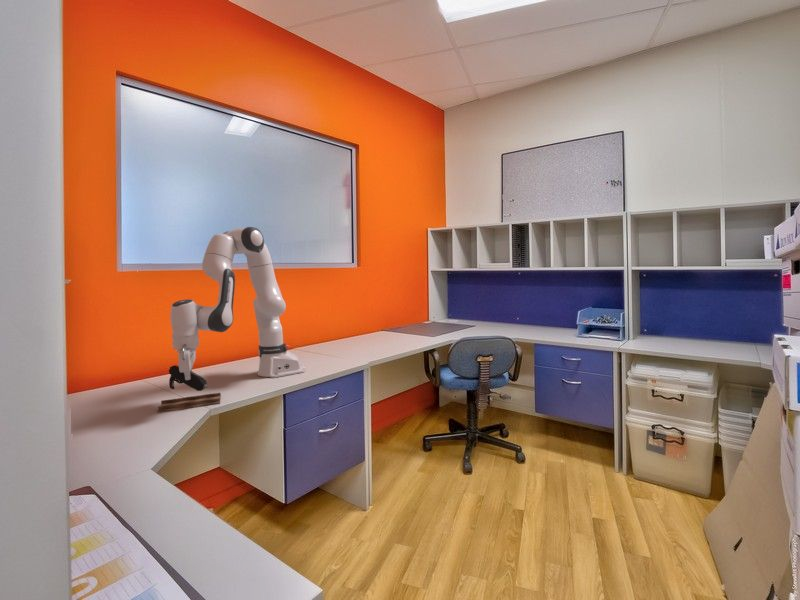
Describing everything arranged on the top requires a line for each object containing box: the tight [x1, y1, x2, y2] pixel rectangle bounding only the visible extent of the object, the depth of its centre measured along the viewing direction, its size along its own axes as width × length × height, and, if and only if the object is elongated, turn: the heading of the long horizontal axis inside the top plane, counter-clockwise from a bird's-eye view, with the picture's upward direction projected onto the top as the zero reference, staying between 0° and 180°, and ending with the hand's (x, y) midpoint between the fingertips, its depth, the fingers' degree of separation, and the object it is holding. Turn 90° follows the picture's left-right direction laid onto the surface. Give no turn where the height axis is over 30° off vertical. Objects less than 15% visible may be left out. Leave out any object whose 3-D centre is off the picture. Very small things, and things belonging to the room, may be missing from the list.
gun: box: [168, 364, 209, 392], centre depth 152 cm, size 3×16×10 cm, turn 83°
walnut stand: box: [157, 392, 222, 414], centre depth 152 cm, size 21×10×2 cm, turn 112°
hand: (188, 377), depth 151 cm, fingers closed on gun, 4 cm apart
